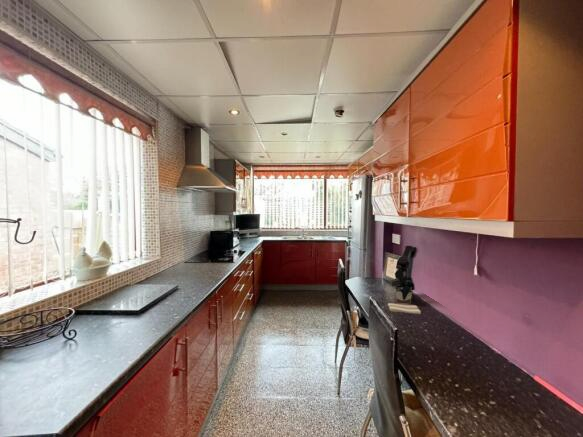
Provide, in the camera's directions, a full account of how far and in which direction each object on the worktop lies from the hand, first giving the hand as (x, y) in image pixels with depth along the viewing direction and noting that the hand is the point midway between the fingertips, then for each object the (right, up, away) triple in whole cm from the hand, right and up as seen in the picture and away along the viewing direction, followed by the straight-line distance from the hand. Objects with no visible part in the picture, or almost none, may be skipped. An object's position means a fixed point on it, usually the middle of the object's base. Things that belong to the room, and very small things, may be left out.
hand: (402, 297), depth 187 cm
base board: (-5, -4, -13) cm, 15 cm away
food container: (0, -3, 0) cm, 3 cm away
